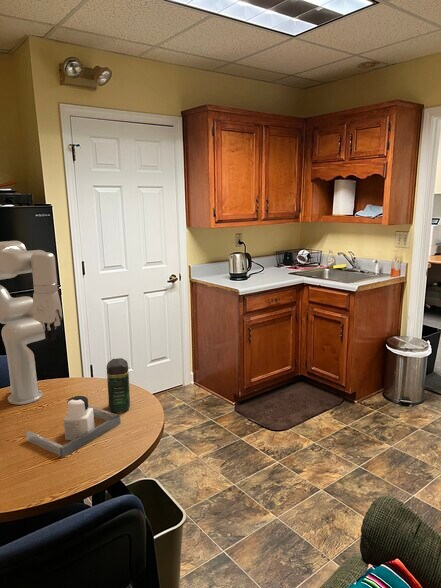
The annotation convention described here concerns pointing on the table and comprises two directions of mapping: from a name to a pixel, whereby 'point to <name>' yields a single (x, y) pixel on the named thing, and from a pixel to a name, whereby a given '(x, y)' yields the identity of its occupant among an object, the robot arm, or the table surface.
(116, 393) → the coffee jar
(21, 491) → the table surface
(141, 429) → the table surface
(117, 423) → the bracket
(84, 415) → the container
